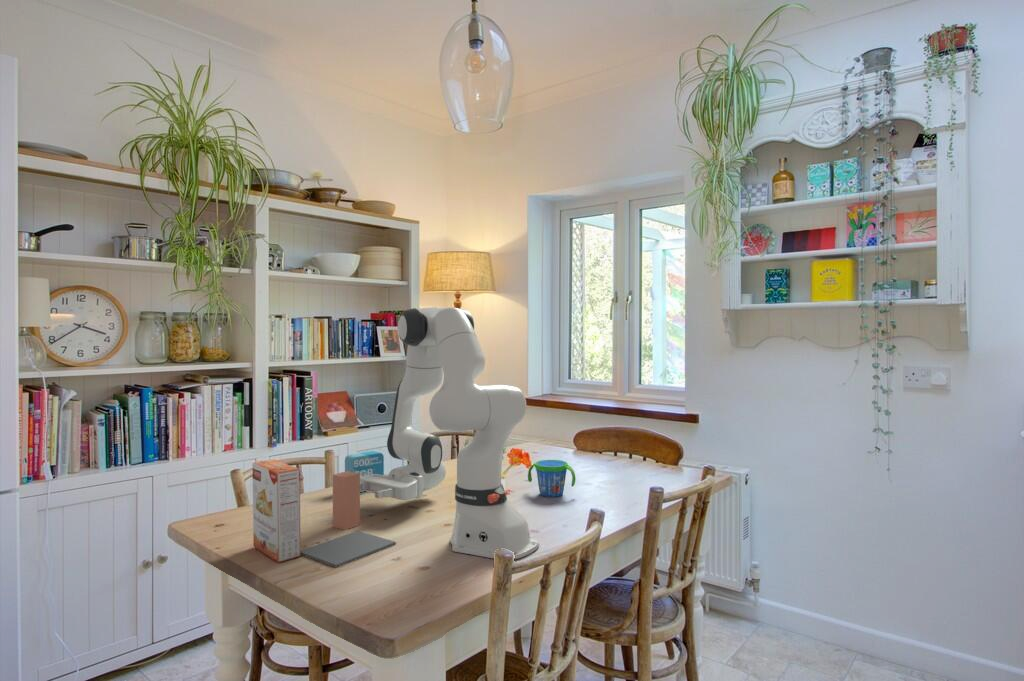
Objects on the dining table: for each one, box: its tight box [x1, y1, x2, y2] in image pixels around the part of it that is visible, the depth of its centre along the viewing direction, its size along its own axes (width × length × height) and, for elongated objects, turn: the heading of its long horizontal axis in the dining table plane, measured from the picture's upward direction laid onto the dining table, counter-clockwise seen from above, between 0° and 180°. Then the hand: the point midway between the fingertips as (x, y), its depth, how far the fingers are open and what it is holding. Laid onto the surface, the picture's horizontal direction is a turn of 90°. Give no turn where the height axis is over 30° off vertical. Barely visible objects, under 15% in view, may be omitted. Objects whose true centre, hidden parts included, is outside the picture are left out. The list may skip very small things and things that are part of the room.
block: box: [332, 471, 361, 531], centre depth 165 cm, size 5×5×14 cm
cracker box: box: [251, 459, 302, 563], centre depth 146 cm, size 14×6×21 cm, turn 45°
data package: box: [344, 450, 385, 493], centre depth 201 cm, size 12×4×12 cm, turn 134°
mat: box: [301, 530, 397, 568], centre depth 148 cm, size 14×18×1 cm
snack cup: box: [527, 459, 577, 498], centre depth 197 cm, size 16×10×10 cm
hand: (365, 492), depth 170 cm, fingers open, 8 cm apart
